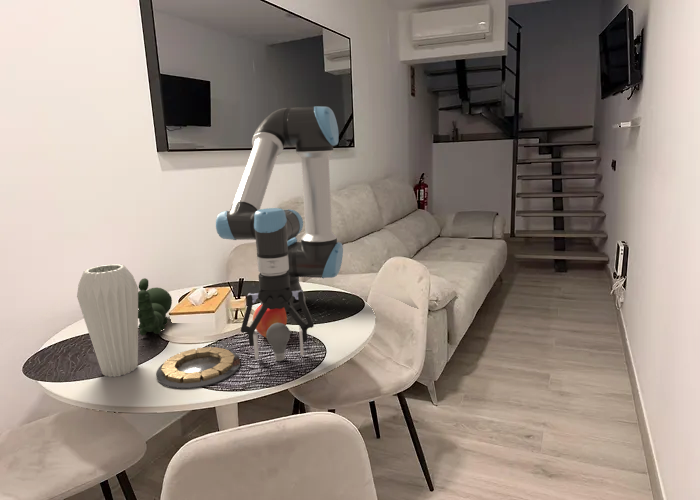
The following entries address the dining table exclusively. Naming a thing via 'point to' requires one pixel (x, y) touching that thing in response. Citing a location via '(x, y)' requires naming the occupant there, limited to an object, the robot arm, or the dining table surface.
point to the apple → (270, 319)
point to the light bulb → (278, 339)
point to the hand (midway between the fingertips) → (279, 354)
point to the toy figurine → (152, 308)
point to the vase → (111, 316)
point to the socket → (198, 368)
